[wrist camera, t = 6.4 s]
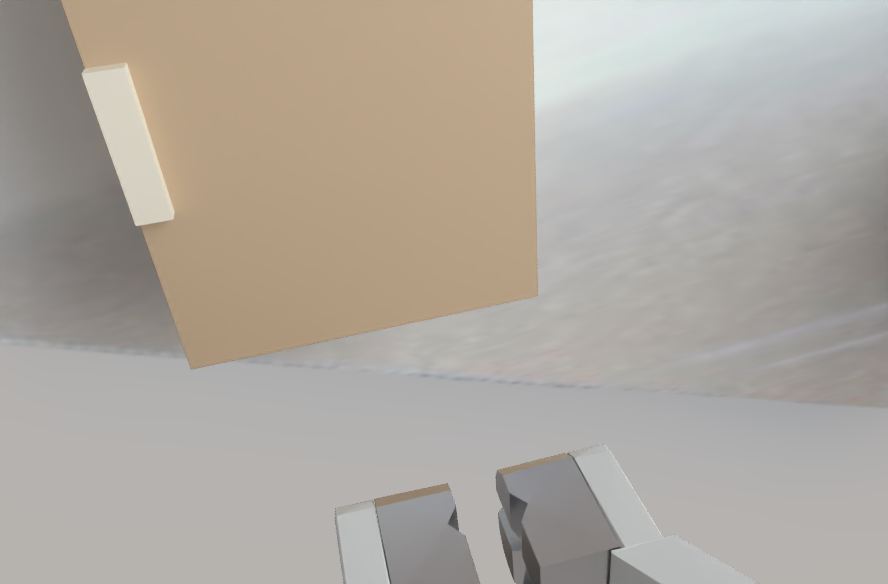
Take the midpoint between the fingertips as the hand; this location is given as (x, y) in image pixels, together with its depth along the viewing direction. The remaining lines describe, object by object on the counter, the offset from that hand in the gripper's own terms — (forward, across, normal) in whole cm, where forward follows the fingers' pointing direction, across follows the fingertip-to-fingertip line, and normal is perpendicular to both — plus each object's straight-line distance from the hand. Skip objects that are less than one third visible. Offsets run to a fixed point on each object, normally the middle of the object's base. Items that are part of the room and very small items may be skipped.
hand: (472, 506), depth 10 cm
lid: (+18, 0, 0) cm, 18 cm away
